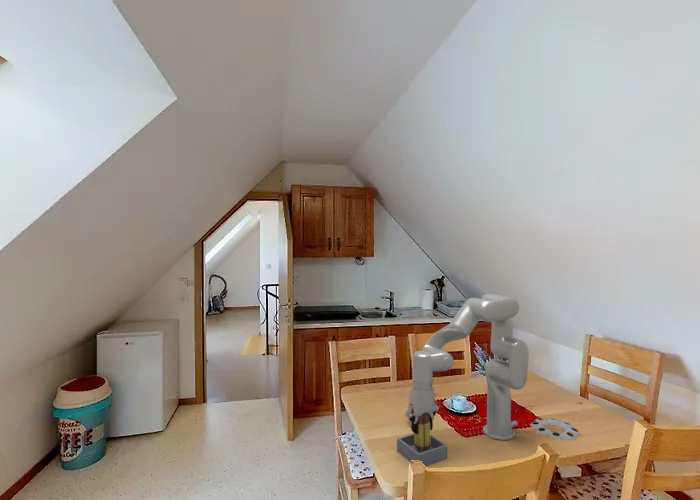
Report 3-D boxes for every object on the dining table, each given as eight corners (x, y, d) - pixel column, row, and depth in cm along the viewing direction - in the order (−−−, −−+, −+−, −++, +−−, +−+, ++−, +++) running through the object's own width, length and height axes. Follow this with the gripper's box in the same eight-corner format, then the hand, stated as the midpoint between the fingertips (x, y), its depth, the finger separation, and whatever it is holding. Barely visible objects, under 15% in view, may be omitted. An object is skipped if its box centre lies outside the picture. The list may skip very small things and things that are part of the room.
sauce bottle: (428, 442, 155) (429, 392, 155) (432, 451, 149) (432, 399, 148) (411, 443, 155) (412, 393, 154) (415, 451, 149) (415, 399, 148)
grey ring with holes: (520, 424, 179) (520, 419, 179) (553, 417, 186) (553, 413, 186) (556, 445, 160) (556, 440, 160) (591, 436, 167) (591, 432, 167)
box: (424, 442, 161) (424, 430, 161) (447, 458, 149) (447, 445, 149) (396, 450, 155) (397, 438, 154) (418, 468, 143) (418, 454, 143)
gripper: (433, 377, 159) (433, 421, 159) (398, 385, 150) (397, 431, 151) (446, 383, 152) (445, 429, 152) (410, 391, 144) (409, 440, 144)
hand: (422, 430), depth 152 cm, fingers closed on sauce bottle, 6 cm apart
